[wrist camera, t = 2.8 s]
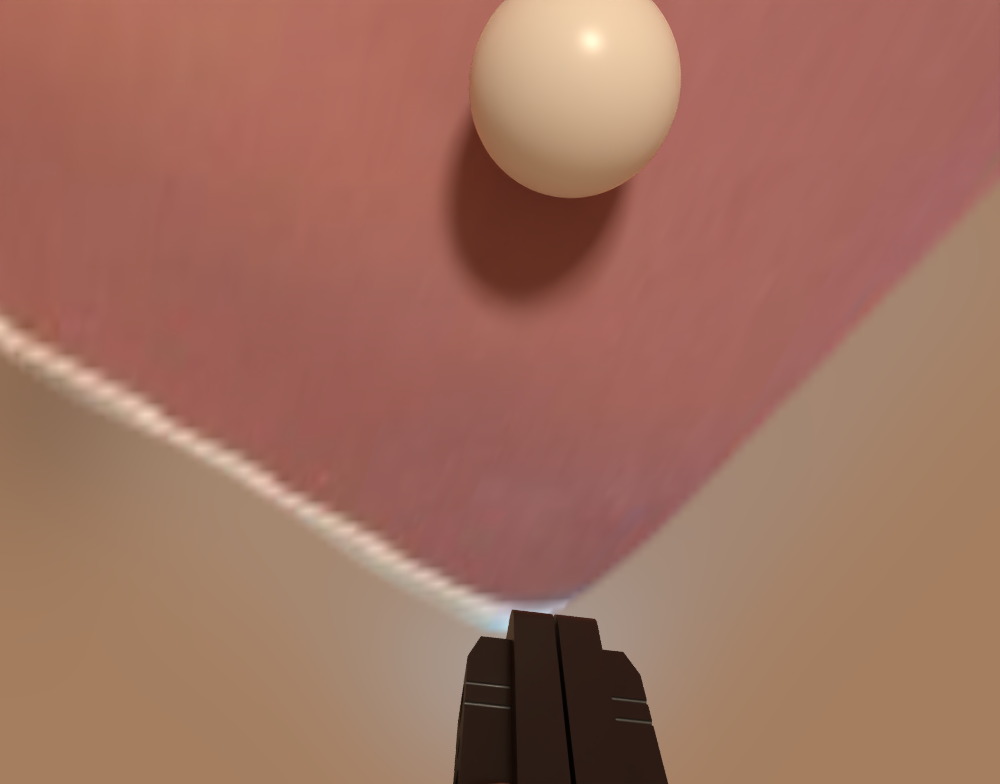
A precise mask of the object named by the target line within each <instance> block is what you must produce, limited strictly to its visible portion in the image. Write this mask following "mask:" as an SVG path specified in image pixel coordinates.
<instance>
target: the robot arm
mask: <svg viewBox="0 0 1000 784" xmlns="http://www.w3.org/2000/svg"><path fill="white" fill-rule="evenodd" d="M454 771H455V772H454V782H453V784H668V782H667V778H666V774H665V770H664V766H663V762H662V758H661V754H660V750H659V747H658V742H657V738H656V735H655V731H654V727H653V726H652V719H651V715H650V711H649V707H648V705H647V704H646V695H645V691H644V687H643V684H642V680H641V676H640V674H639V673H638V671H637V670H636V668H635V667H634V666H633V665H632V663H631V662H630V660H629V659H628V658H627V656H626V655H625V654H624V652H618V651H609V650H602V645H601V640H600V635H599V630H598V625H597V621H596V620H595V619H591V618H582V617H574V616H565V615H556V614H555V615H554V617H553V615H552V614H546V613H537V612H528V611H519V610H512V611H511V615H510V620H509V626H508V632H507V637H506V639H501V638H492V637H483V636H481V637H480V639H479V640H478V641H477V643H476V645H475V646H474V648H473V649H472V651H471V652H470V653H469V655H468V658H467V664H466V672H465V678H464V685H463V692H462V698H461V705H460V712H459V719H458V730H457V742H456V755H455V769H454Z"/></svg>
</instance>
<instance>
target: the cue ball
mask: <svg viewBox="0 0 1000 784" xmlns="http://www.w3.org/2000/svg"><path fill="white" fill-rule="evenodd" d="M680 90H681V68H680V58H679V54H678V49H677V45H676V42H675V39H674V36H673V34H672V31H671V29H670V27H669V25H668V23H667V21H666V19H665V17H664V16H663V14H662V13H661V11H660V10H659V8H658V7H657V6H656V4H655V3H654V2H653V1H652V0H505V1H504V2H503V3H501V4H500V6H499V7H498V8H497V10H496V11H495V12H494V13H493V15H492V16H491V17H490V19H489V21H488V22H487V24H486V26H485V28H484V29H483V31H482V34H481V36H480V38H479V40H478V43H477V45H476V49H475V52H474V55H473V59H472V64H471V70H470V78H469V98H470V107H471V112H472V117H473V121H474V124H475V127H476V130H477V133H478V135H479V137H480V139H481V142H482V144H483V146H484V147H485V149H486V150H487V152H488V153H489V155H490V157H491V158H492V159H493V160H494V161H495V163H496V164H497V165H498V166H499V167H500V168H501V169H502V170H503V171H504V172H505V173H506V174H507V175H508V176H509V177H511V178H512V179H514V180H515V181H516V182H518V183H519V184H521V185H523V186H525V187H527V188H529V189H531V190H533V191H536V192H538V193H541V194H544V195H549V196H554V197H560V198H582V197H588V196H593V195H598V194H600V193H603V192H606V191H609V190H611V189H613V188H615V187H617V186H619V185H621V184H623V183H624V182H626V181H627V180H629V179H630V178H632V177H633V176H634V175H636V174H637V173H638V172H639V171H640V170H641V169H643V168H644V167H645V166H646V164H647V163H648V162H649V161H650V160H651V159H652V158H653V157H654V155H655V154H656V152H657V151H658V150H659V148H660V147H661V145H662V144H663V142H664V140H665V138H666V136H667V134H668V133H669V131H670V128H671V126H672V123H673V121H674V118H675V115H676V111H677V107H678V103H679V96H680Z"/></svg>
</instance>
